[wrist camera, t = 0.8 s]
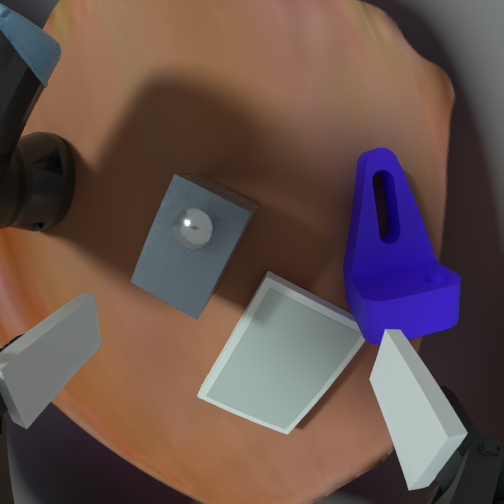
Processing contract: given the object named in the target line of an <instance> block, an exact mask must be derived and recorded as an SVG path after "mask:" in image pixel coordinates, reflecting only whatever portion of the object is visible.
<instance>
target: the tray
mask: <svg viewBox="0 0 504 504" xmlns="http://www.w3.org/2000/svg"><path fill="white" fill-rule="evenodd" d="M364 342H365V339H364V338H363V336H362V333H361V331H360V329H359V327H358V325H357V323H356V320H355V318H354V316H353V314H351V313H349V312H347V311H345V310H343V309H341V308H339V307H337V306H335V305H333V304H332V303H330V302H328V301H326V300H324V299H322V298H320V297H318V296H316V295H314V294H312V293H310V292H308V291H306V290H305V289H303V288H301V287H299V286H297V285H295V284H293V283H291V282H289V281H287V280H285V279H283V278H281V277H280V276H278V275H276V274H274V273H272V272H270V271H267V272H266V274H265V276H264V278H263V280H262V281H261V283H260V285H259V287H258V289H257V290H256V292H255V294H254V296H253V297H252V299H251V301H250V303H249V304H248V306H247V308H246V310H245V312H244V313H243V315H242V317H241V319H240V320H239V322H238V324H237V326H236V327H235V329H234V331H233V333H232V334H231V336H230V338H229V339H228V341H227V343H226V345H225V346H224V348H223V350H222V352H221V353H220V355H219V357H218V358H217V360H216V362H215V364H214V365H213V367H212V369H211V370H210V372H209V374H208V376H207V377H206V379H205V381H204V382H203V384H202V386H201V388H200V390H199V393H198V395H197V397H199V398H201V399H203V400H205V401H208V402H210V403H212V404H214V405H216V406H218V407H221V408H223V409H225V410H227V411H229V412H232V413H234V414H236V415H239V416H241V417H243V418H246V419H248V420H251V421H253V422H256V423H258V424H261V425H263V426H266V427H268V428H271V429H274V430H276V431H279V432H282V433H285V434H288V433H289V432H290V431H291V430H292V429H293V428H294V427H295V426H296V425H297V424H298V423H299V422H300V420H301V419H302V418H303V417H304V416H305V415H306V414H307V413H308V412H309V410H310V409H311V408H312V407H313V406H314V405H315V404H316V402H317V401H318V400H319V399H320V398H321V396H322V395H323V394H324V393H325V392H326V391H327V389H328V388H329V387H330V386H331V384H332V383H333V382H334V381H335V380H336V378H337V377H338V376H339V375H340V373H341V372H342V371H343V369H344V368H345V367H346V366H347V364H348V363H349V362H350V360H351V359H352V358H353V356H354V355H355V354H356V352H357V351H358V350H359V348H360V347H361V346H362V344H363V343H364Z"/></svg>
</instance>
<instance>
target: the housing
mask: <svg viewBox="0 0 504 504" xmlns="http://www.w3.org/2000/svg"><path fill="white" fill-rule="evenodd" d="M258 207H259V205H258V204H256V203H254V202H252V201H251V200H249V199H247V198H245V197H243V196H241V195H239V194H237V193H235V192H233V191H231V190H229V189H227V188H225V187H223V186H221V185H219V184H217V183H215V182H213V181H211V180H209V179H207V178H205V177H203V176H201V175H192V174H174V176H173V179H172V181H171V183H170V185H169V187H168V190H167V192H166V194H165V196H164V199H163V201H162V203H161V206H160V208H159V210H158V213H157V215H156V217H155V220H154V222H153V224H152V227H151V229H150V232H149V234H148V237H147V239H146V242H145V244H144V247H143V249H142V252H141V255H140V257H139V260H138V262H137V265H136V268H135V270H134V273H133V276H132V279H131V282H132V283H133V284H135V285H137V286H138V287H140V288H142V289H143V290H145V291H147V292H148V293H150V294H152V295H154V296H155V297H157V298H159V299H161V300H162V301H164V302H166V303H168V304H169V305H171V306H173V307H175V308H176V309H178V310H180V311H182V312H184V313H185V314H187V315H189V316H191V317H193V318H195V319H196V320H197V319H198V318H199V316H200V314H201V313H202V311H203V310H204V308H205V306H206V305H207V303H208V301H209V300H210V298H211V297H212V295H213V293H214V292H215V290H216V288H217V286H218V284H219V282H220V280H221V279H222V277H223V275H224V273H225V271H226V269H227V267H228V265H229V263H230V261H231V259H232V257H233V255H234V253H235V251H236V249H237V248H238V246H239V244H240V242H241V240H242V238H243V236H244V234H245V232H246V230H247V228H248V226H249V224H250V223H251V221H252V219H253V217H254V215H255V213H256V211H257V209H258Z"/></svg>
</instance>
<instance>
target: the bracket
mask: <svg viewBox="0 0 504 504" xmlns="http://www.w3.org/2000/svg"><path fill="white" fill-rule="evenodd" d="M376 172H378V173H379V174H380V175H381V177H382V181H383V187H384V194H385V201H386V209H387V217H388V226H389V228H388V231H387V233H386V234H385V235H384V236H382V237H380V236H379V228H378V220H377V212H376V205H375V198H374V191H373V185H372V178H373V175H374V174H375V173H376ZM343 271H344V279H345V289H346V299H347V303H348V306H349V308H350V310H351V312H352V314H353V316H354V318H355V320H356V323H357V325H358V327H359V329H360V331H361V333H362V336H363V338H364V339H365V340H366V341H367V342H369V343H372V344H377V345H381V342H382V338H383V335H384V332H385V329H396V330H401V331H402V333H403V334H404V336H405V337H406V338H407V340H408V339H412V338H416V337H420V336H423V335H427V334H431V333H434V332H438V331H442V330H445V329H448V328H451V327H453V326H455V325H456V324H457V322H458V318H459V305H460V283H461V280H460V279H461V278H460V276H459V275H458V274H456V273H454V272H453V271H451V270H450V269H448V268H446V267H445V266H443V265H442V264H440V263H438V262H437V261H436V259H435V255H434V252H433V249H432V246H431V243H430V240H429V237H428V234H427V231H426V228H425V226H424V223H423V220H422V217H421V215H420V212H419V209H418V207H417V204H416V202H415V199H414V197H413V194H412V192H411V189H410V187H409V184H408V182H407V180H406V177H405V175H404V173H403V171H402V168H401V166H400V164H399V162H398V159H397V157H396V156H395V154H394V153H393V152H392V151H390V150H388V149H386V148H377V149H374V150H371V151H368V152H365V153H363V154H362V155H361V156H360V158H359V160H358V163H357V173H356V182H355V191H354V199H353V207H352V215H351V222H350V229H349V235H348V242H347V248H346V254H345V260H344V266H343Z"/></svg>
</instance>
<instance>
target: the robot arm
mask: <svg viewBox="0 0 504 504" xmlns="http://www.w3.org/2000/svg"><path fill="white" fill-rule="evenodd" d="M60 57H61V48H60V45H59V43H58V42H57V41H56V40H55V39H53V38H52V37H51V36H50V35H48V34H47V33H46V32H44V31H43V30H42V29H40V28H39V27H37V26H36V25H35V24H33V23H32V22H30V21H29V20H27V19H26V18H24V17H22V16H21V15H19V14H18V13H16V12H14V11H12V10H11V9H9V8H7V7H6V6H4V5H2V4H0V229H1V228H5V227H13V228H18V229H23V230H28V231H41V230H45V229H48V228H51V227H53V226H55V225H56V224H57V223H59V222H60V221H61V219H62V218H63V217H64V215H65V214H66V212H67V210H68V208H69V206H70V203H71V200H72V197H73V192H74V184H75V170H74V163H73V159H72V156H71V153H70V150H69V148H68V147H67V145H66V143H65V142H64V141H63V140H62V139H61V138H60V137H59V136H57V135H55V134H52V133H46V132H35V133H31V134H28V135H25V136H23V137H20V136H21V134H22V132H23V130H24V127H25V125H26V123H27V121H28V119H29V116H30V114H31V112H32V110H33V108H34V107H35V105H36V103H37V101H38V99H39V97H40V95H41V93H42V92H43V90H44V88H46V87H47V85H48V80H49V78H50V76H51V74H52V72H53V70H54V69H55V67H56V65H57V63H58V62H59V59H60ZM101 345H102V344H101V337H100V331H99V323H98V316H97V308H96V299H95V295H92V294H87V293H81V294H79V295H78V296H77V297H75V298H74V299H72V300H71V301H69V302H68V303H67V304H65V305H64V306H62V307H61V308H59V309H58V310H57V311H55V312H54V313H52V314H51V315H50V316H48V317H47V318H45V319H44V320H43V321H41V322H40V323H39V324H37V325H36V326H34V327H33V328H32V329H30V330H29V331H28V332H26V333H24V334H22V335H19V336H17V337H15V338H14V339H13V340H11V341H10V342H9V344H6V345H5V346H3V348H1V349H0V504H14V499H13V493H12V486H11V479H10V471H9V462H8V452H7V451H8V450H7V433H6V419H5V416H4V415H3V414H4V413H5V412H6V411H7V410H8V412H9V414H10V416H11V418H12V420H13V421H14V422H15V423H17V424H19V425H20V426H22V427H24V428H26V429H27V428H28V427H29V426H30V425H31V423H32V422H33V421H34V420H35V419H36V418H37V416H38V415H39V414H40V413H41V412H42V411H43V409H44V408H45V407H46V406H47V405H48V404H49V403H50V402H51V400H52V399H53V398H54V397H55V396H56V395H57V394H58V392H59V391H60V390H61V389H62V388H63V387H64V386H65V385H66V384H67V382H68V381H69V380H70V379H71V378H72V377H73V376H74V375H75V374H76V372H77V371H78V370H79V369H80V368H81V367H82V366H83V365H84V364H85V363H86V362H87V360H88V359H89V358H90V357H91V356H92V355H93V354H94V353H95V352H96V351H97V350H98V349H99V348H100V346H101ZM369 380H370V382H371V385H372V387H373V390H374V392H375V395H376V398H377V400H378V403H379V405H380V408H381V411H382V413H383V416H384V419H385V421H386V424H387V427H388V430H389V432H390V435H391V438H392V441H393V444H394V447H395V449H396V452H397V455H398V458H399V461H400V464H401V467H402V470H403V473H404V476H405V479H406V482H407V486H408V489H409V490H414V489H418V488H423V487H428V486H429V485H430V483H431V482H432V481H433V480H434V479H435V477H437V479H438V482H439V485H438V486H437V487H436V488H435V489H434V490H433V491H432V493H431V494H430V495H429V496H428V497H427V498H426V499H425V501H428V500H429V499H430V500H429V502H428V504H504V446H502V445H501V443H500V442H499V441H498V440H497V439H496V438H494V437H492V436H490V435H485V434H483V435H481V434H480V433H479V431H478V429H477V428H476V426H475V425H474V423H473V421H472V420H471V418H470V417H469V415H468V414H467V412H466V411H464V407H463V406H462V404H460V402H459V400H458V398H457V397H456V395H455V394H454V393H453V392H452V391H451V390H449V389H448V388H447V387H446V386H438V384H437V383H436V381H435V380H434V378H433V377H432V375H431V373H430V372H429V370H428V369H427V367H426V366H425V365H424V363H423V362H422V360H421V359H420V357H419V356H418V354H417V353H416V351H415V350H414V348H413V347H412V346H411V344H410V343H409V341H408V340H407V338H406V337H405V336H404V334H403V333H402V331H401V330H396V329H385V332H384V335H383V338H382V342H381V345H380V348H379V352H378V355H377V358H376V361H375V364H374V367H373V370H372V373H371V376H370V379H369Z"/></svg>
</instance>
